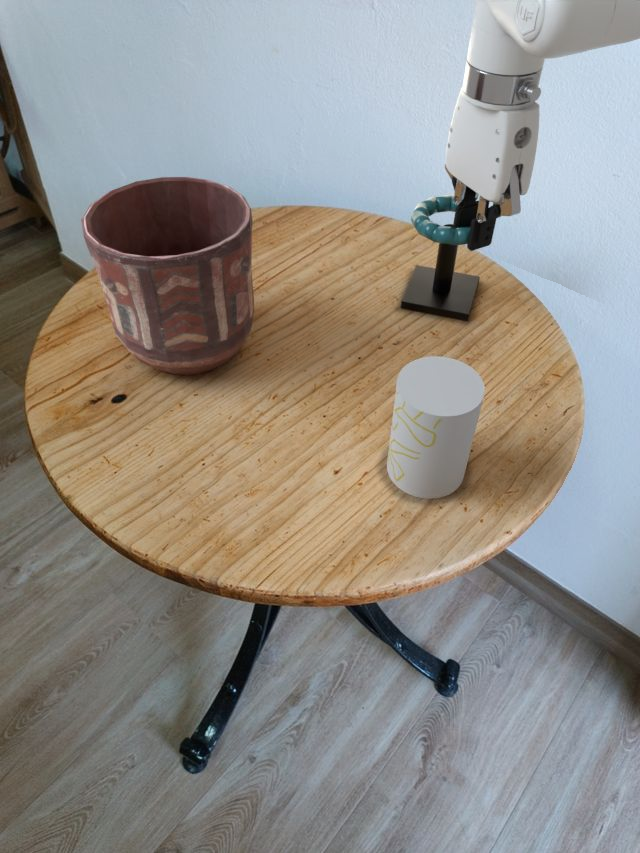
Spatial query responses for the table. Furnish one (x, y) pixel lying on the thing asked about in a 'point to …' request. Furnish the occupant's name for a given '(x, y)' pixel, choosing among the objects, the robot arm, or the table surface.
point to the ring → (435, 230)
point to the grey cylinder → (433, 425)
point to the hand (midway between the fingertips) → (471, 239)
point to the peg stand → (441, 287)
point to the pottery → (175, 270)
